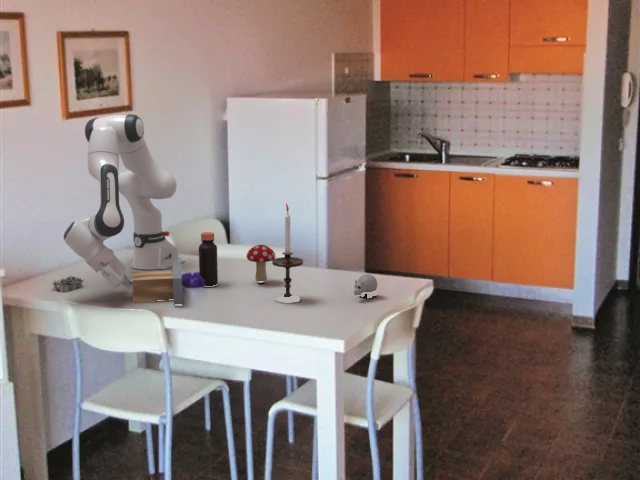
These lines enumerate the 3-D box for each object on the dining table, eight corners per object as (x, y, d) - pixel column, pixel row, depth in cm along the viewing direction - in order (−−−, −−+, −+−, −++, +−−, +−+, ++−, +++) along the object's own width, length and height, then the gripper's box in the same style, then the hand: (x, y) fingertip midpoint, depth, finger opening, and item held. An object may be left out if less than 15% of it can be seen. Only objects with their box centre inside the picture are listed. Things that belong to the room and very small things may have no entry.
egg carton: (63, 293, 325) (63, 282, 324) (49, 290, 329) (49, 279, 328) (86, 287, 334) (85, 276, 333) (72, 284, 338) (71, 273, 337)
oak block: (133, 293, 325) (132, 272, 323) (172, 291, 327) (171, 270, 326) (133, 302, 313) (132, 280, 311) (173, 300, 316) (173, 278, 314)
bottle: (195, 285, 336) (194, 233, 332) (209, 282, 341) (208, 230, 336) (207, 288, 331) (206, 236, 327) (221, 285, 336) (220, 233, 332)
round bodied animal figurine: (345, 300, 317) (345, 277, 315) (364, 293, 326) (364, 270, 324) (362, 304, 313) (362, 280, 311) (381, 296, 322) (381, 274, 320)
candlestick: (268, 297, 320) (267, 201, 312) (296, 294, 324) (296, 199, 317) (278, 305, 310) (278, 206, 303) (307, 302, 314) (308, 204, 307)
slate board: (173, 286, 333) (172, 260, 331) (181, 286, 334) (180, 260, 332) (173, 306, 308) (172, 278, 306) (182, 306, 309) (181, 278, 307)
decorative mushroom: (258, 288, 332) (258, 249, 328) (240, 282, 340) (240, 244, 336) (281, 283, 339) (281, 245, 335) (263, 278, 347) (263, 240, 344)
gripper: (106, 260, 304) (135, 287, 307) (110, 247, 324) (138, 273, 327) (92, 273, 304) (122, 300, 308) (98, 259, 324) (126, 285, 327)
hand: (130, 286), depth 318 cm, fingers closed
